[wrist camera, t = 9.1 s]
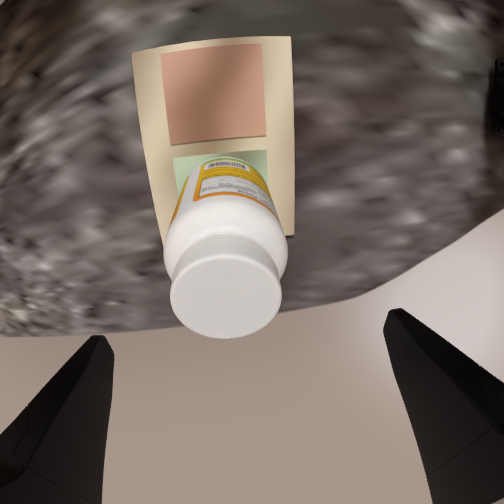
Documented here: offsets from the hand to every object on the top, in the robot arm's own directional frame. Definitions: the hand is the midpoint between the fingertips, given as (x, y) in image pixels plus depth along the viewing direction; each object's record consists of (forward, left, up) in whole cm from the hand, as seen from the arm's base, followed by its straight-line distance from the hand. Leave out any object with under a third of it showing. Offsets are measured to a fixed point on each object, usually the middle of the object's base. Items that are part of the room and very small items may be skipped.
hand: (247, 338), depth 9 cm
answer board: (+1, -3, -12) cm, 13 cm away
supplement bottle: (+1, 0, -12) cm, 12 cm away
